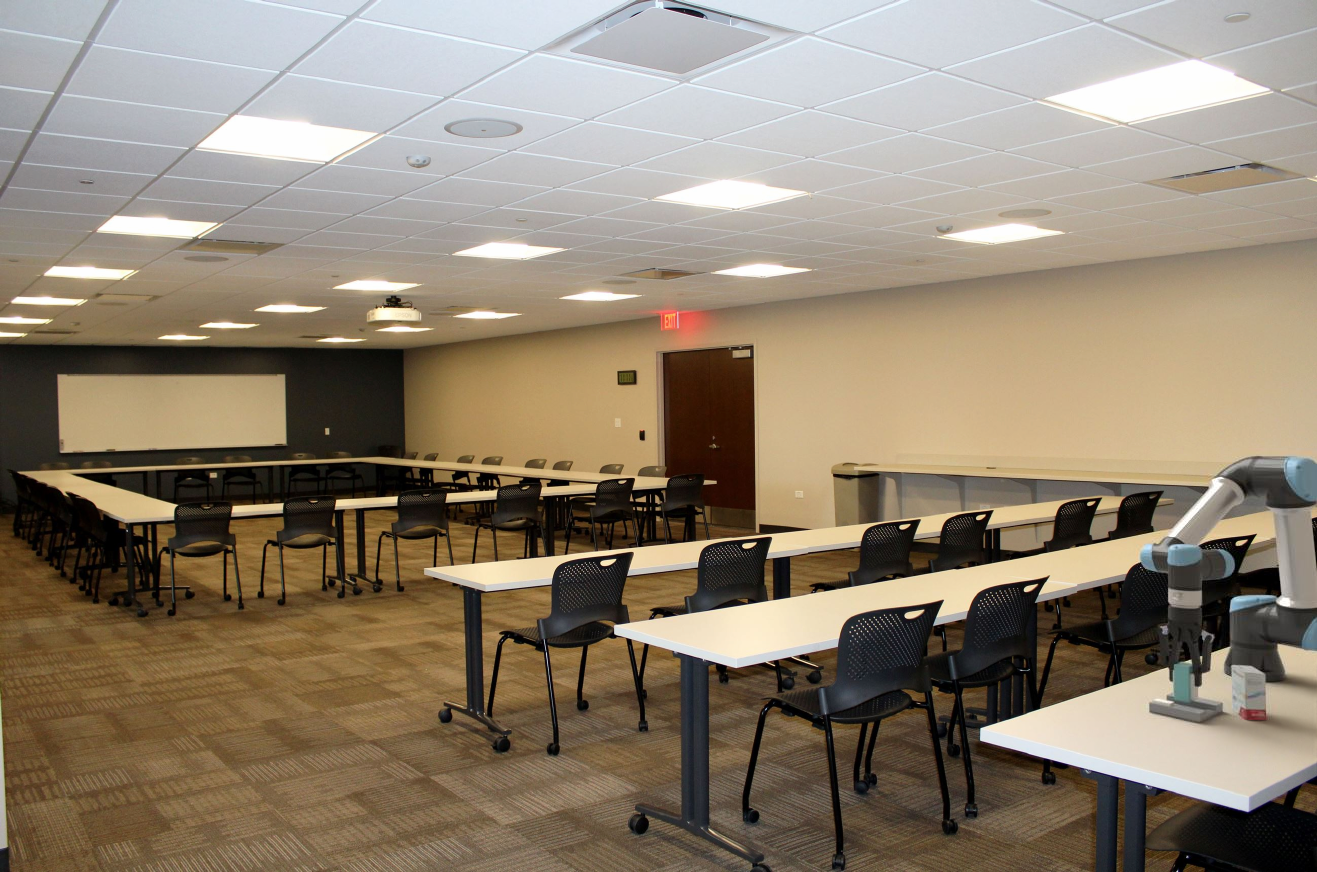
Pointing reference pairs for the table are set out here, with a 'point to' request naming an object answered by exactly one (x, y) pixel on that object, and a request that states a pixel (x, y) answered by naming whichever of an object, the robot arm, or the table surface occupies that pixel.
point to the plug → (1182, 681)
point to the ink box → (1248, 692)
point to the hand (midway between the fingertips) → (1185, 696)
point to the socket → (1186, 708)
